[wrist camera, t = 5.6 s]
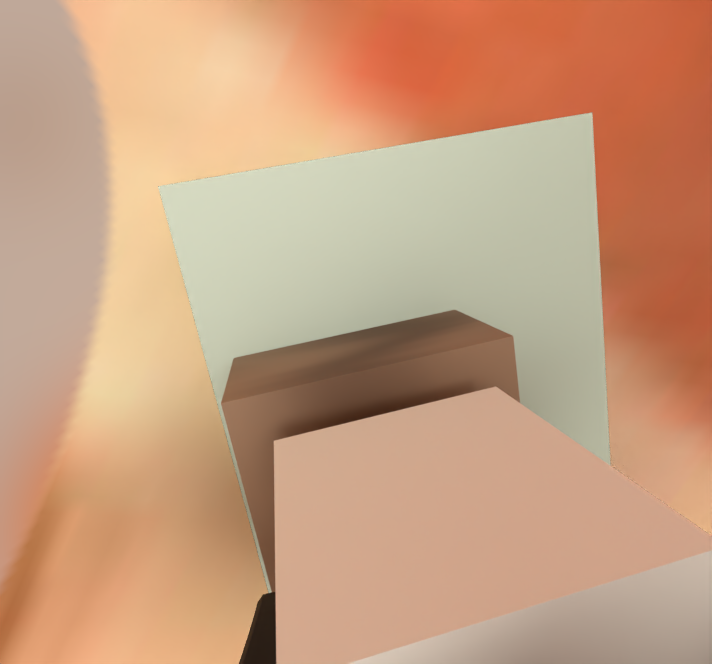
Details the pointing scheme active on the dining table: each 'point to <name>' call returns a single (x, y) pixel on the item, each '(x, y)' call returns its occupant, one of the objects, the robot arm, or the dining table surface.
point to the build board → (410, 257)
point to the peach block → (478, 546)
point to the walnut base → (352, 390)
